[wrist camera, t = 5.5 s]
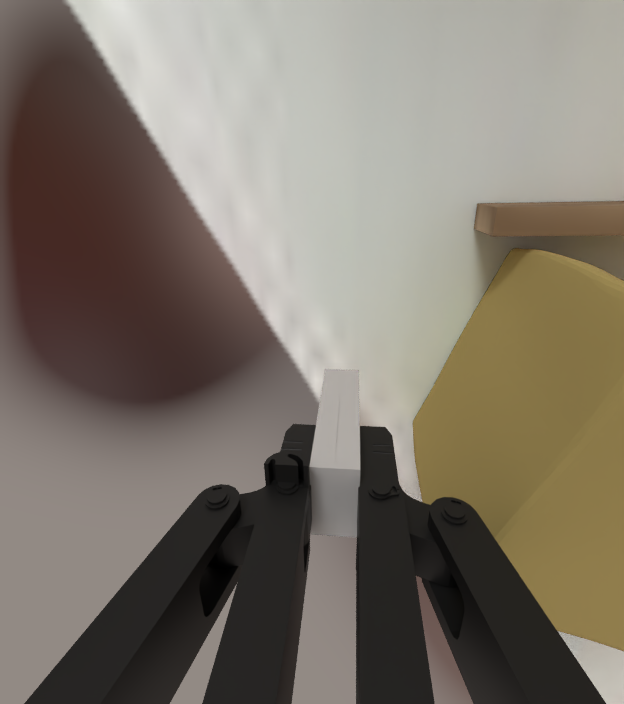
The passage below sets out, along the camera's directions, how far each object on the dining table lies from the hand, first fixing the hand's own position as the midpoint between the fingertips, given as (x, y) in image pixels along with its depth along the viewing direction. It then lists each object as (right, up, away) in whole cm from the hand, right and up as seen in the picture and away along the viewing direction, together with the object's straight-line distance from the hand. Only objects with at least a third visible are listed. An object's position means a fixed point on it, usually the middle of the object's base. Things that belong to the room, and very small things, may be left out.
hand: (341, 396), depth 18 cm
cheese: (+10, +1, +2) cm, 10 cm away
